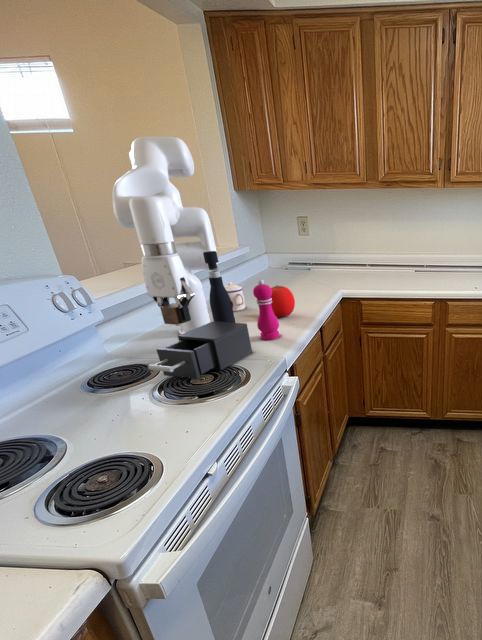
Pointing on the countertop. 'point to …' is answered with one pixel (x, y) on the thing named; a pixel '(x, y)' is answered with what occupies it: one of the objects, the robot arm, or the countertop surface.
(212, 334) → the cabinet
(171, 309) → the block
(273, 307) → the tomato
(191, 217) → the robot arm
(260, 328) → the pepper mill
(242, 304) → the teacup with lid
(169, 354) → the drawer
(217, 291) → the wine bottle
